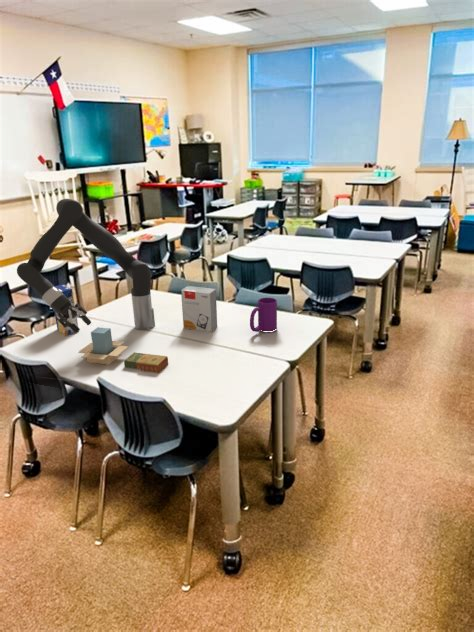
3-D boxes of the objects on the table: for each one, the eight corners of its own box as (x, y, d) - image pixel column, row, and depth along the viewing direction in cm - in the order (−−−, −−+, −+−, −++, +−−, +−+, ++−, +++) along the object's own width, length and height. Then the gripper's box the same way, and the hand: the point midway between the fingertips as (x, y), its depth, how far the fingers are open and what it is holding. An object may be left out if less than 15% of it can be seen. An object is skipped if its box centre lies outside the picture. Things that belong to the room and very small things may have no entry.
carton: (159, 374, 188) (158, 364, 187) (124, 369, 193) (123, 359, 192) (168, 365, 196) (167, 355, 194) (134, 360, 201) (133, 351, 199)
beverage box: (65, 335, 228) (58, 292, 220) (57, 329, 236) (49, 287, 228) (79, 331, 232) (72, 289, 224) (70, 325, 240) (63, 284, 232)
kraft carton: (74, 366, 196) (72, 356, 194) (97, 349, 212) (95, 339, 210) (113, 370, 191) (112, 360, 190) (133, 352, 207) (132, 342, 206)
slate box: (94, 360, 200) (90, 332, 195) (101, 354, 205) (97, 327, 200) (107, 361, 198) (103, 333, 194) (114, 356, 203) (110, 328, 199)
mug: (281, 329, 227) (281, 300, 222) (257, 338, 218) (257, 308, 212) (267, 324, 234) (267, 296, 228) (244, 333, 224) (243, 303, 219)
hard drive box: (182, 328, 232) (180, 290, 225) (190, 323, 238) (187, 285, 231) (211, 332, 226) (209, 293, 219) (218, 326, 233) (216, 288, 226)
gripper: (50, 300, 190) (79, 328, 191) (71, 289, 202) (98, 316, 203) (41, 311, 193) (69, 339, 194) (62, 300, 206) (89, 326, 207)
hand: (84, 327), depth 199 cm, fingers open, 8 cm apart
